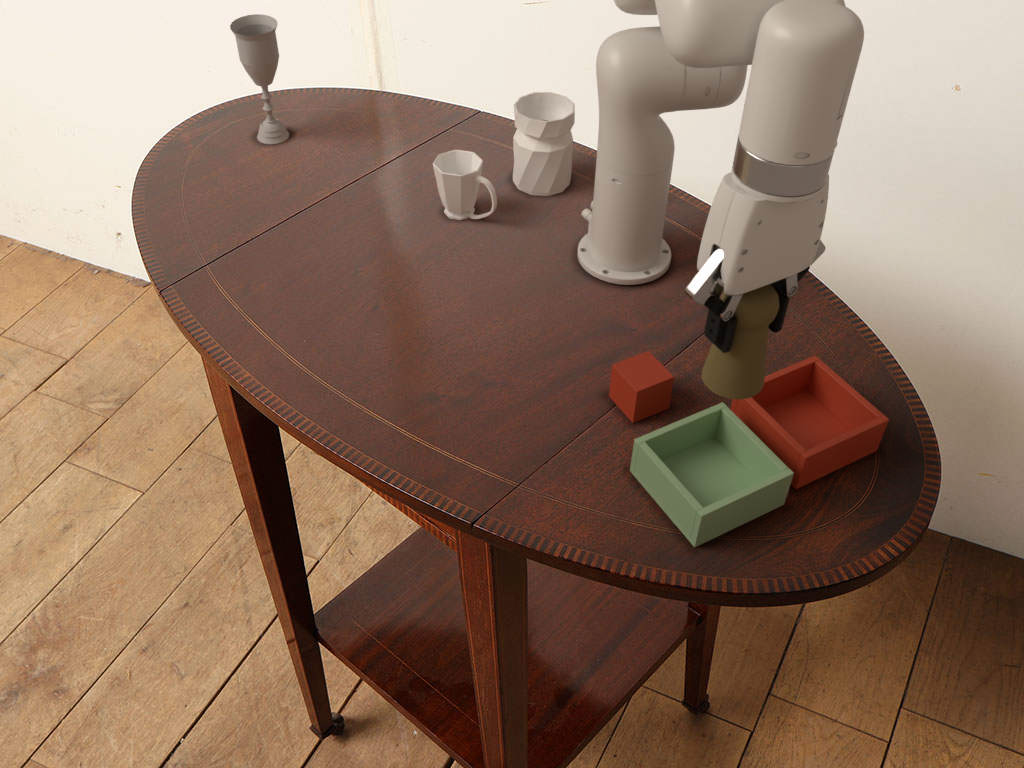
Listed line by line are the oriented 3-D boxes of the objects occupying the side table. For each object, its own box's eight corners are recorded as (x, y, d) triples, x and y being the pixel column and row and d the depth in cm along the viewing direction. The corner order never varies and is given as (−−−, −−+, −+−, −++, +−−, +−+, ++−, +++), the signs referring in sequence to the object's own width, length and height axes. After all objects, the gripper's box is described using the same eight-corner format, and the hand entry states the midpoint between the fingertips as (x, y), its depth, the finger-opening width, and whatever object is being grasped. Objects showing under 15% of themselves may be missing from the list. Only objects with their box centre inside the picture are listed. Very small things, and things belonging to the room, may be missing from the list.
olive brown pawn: (756, 356, 98) (778, 267, 90) (770, 399, 93) (795, 309, 86) (696, 357, 98) (713, 267, 90) (707, 400, 93) (726, 310, 86)
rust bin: (727, 420, 112) (734, 388, 108) (805, 386, 116) (815, 355, 112) (795, 489, 104) (805, 458, 101) (876, 451, 108) (889, 419, 105)
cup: (455, 192, 145) (454, 143, 139) (510, 216, 140) (511, 166, 135) (424, 213, 140) (421, 164, 135) (480, 239, 136) (479, 189, 131)
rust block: (608, 396, 114) (612, 364, 111) (644, 382, 116) (648, 350, 112) (632, 423, 111) (637, 391, 108) (669, 408, 113) (674, 376, 109)
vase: (553, 202, 143) (557, 128, 135) (501, 185, 146) (502, 111, 138) (580, 174, 149) (586, 101, 140) (530, 158, 152) (532, 86, 143)
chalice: (253, 125, 158) (232, 15, 146) (296, 123, 159) (279, 13, 146) (249, 148, 153) (227, 36, 140) (293, 146, 153) (276, 34, 141)
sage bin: (629, 470, 106) (634, 439, 102) (715, 433, 110) (722, 401, 107) (694, 547, 99) (701, 516, 95) (784, 504, 103) (794, 473, 99)
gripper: (829, 117, 85) (786, 284, 97) (667, 166, 78) (643, 339, 91) (893, 157, 80) (839, 328, 92) (726, 213, 74) (692, 388, 86)
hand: (742, 332), depth 92 cm, fingers closed on olive brown pawn, 5 cm apart
